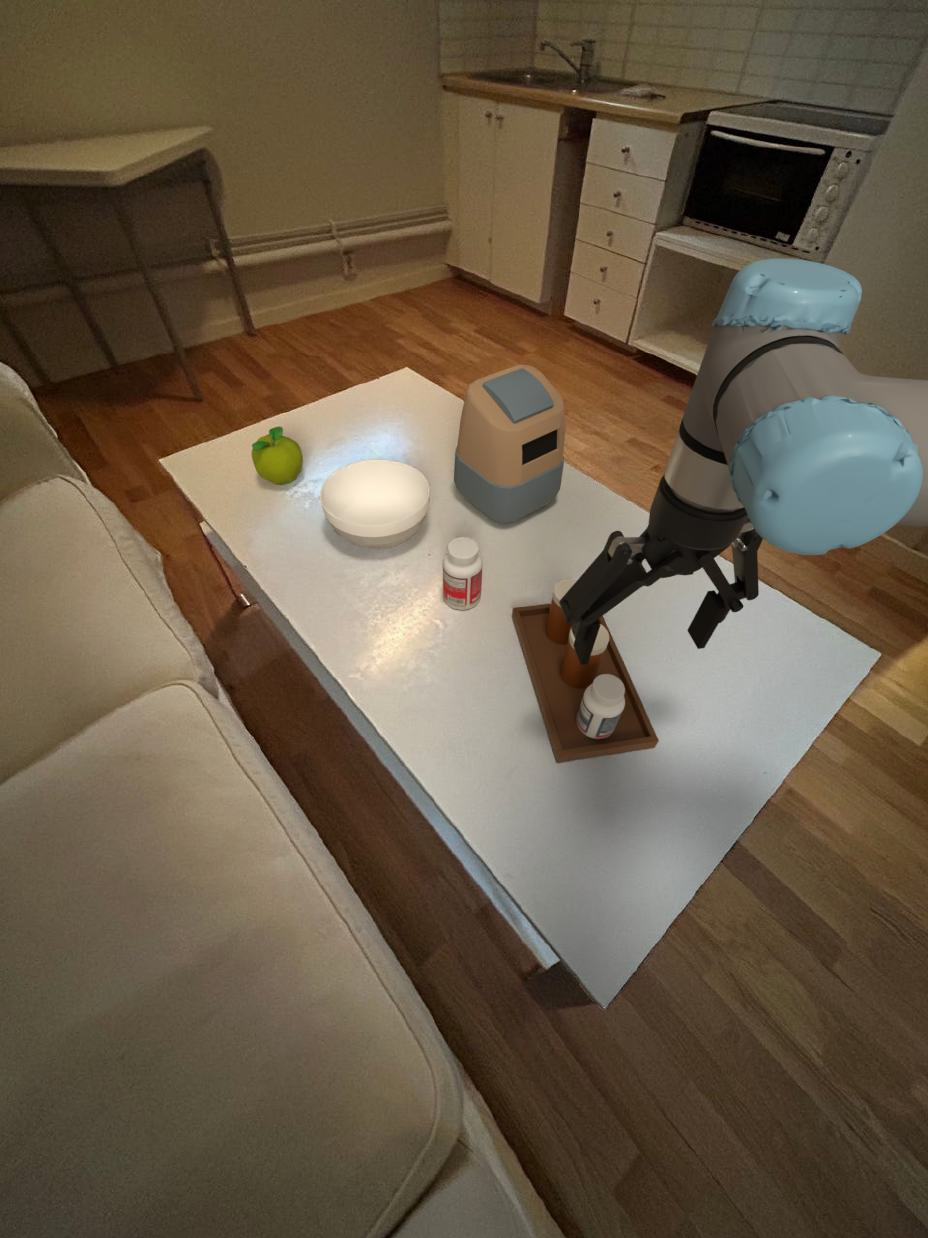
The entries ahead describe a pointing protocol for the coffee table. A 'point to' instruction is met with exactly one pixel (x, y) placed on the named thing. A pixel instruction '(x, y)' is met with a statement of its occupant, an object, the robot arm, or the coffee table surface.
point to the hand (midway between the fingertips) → (638, 647)
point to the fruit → (277, 457)
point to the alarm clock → (510, 443)
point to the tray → (577, 693)
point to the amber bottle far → (559, 614)
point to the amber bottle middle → (586, 673)
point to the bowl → (376, 502)
